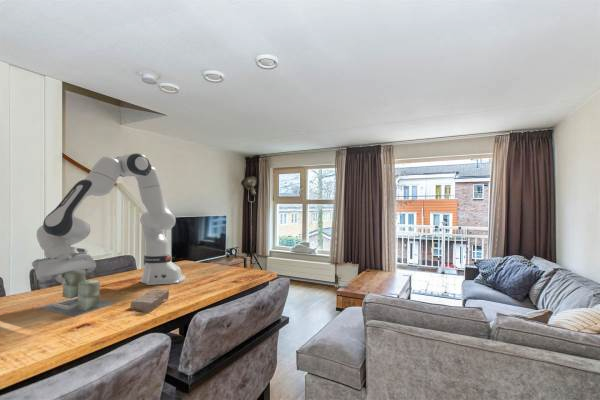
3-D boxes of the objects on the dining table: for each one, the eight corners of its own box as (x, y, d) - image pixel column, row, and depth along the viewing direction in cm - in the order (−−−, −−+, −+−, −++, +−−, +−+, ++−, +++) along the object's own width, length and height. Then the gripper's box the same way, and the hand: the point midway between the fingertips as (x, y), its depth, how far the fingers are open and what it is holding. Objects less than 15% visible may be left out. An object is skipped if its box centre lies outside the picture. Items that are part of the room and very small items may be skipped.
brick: (149, 313, 111) (150, 301, 111) (128, 312, 111) (129, 300, 111) (169, 299, 127) (169, 289, 128) (150, 299, 127) (151, 288, 128)
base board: (81, 298, 125) (82, 293, 125) (116, 306, 117) (116, 300, 117) (37, 310, 110) (37, 305, 110) (73, 320, 102) (73, 314, 102)
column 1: (76, 293, 118) (77, 269, 118) (84, 295, 116) (85, 270, 116) (62, 296, 113) (63, 271, 113) (70, 298, 111) (71, 273, 112)
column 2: (90, 304, 115) (91, 279, 115) (98, 306, 113) (99, 281, 113) (77, 308, 110) (78, 282, 110) (85, 310, 108) (86, 284, 108)
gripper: (34, 255, 108) (48, 284, 104) (90, 248, 127) (104, 272, 123) (26, 265, 109) (40, 294, 106) (83, 257, 128) (96, 281, 125)
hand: (75, 282), depth 115 cm, fingers closed on column 1, 5 cm apart
